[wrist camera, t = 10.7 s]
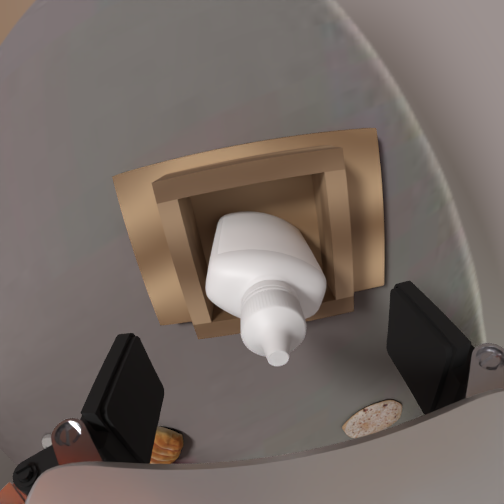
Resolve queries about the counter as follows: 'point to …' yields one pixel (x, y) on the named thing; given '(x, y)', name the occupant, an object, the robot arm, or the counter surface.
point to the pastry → (166, 446)
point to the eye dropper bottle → (265, 281)
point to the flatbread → (373, 419)
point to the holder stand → (257, 200)
